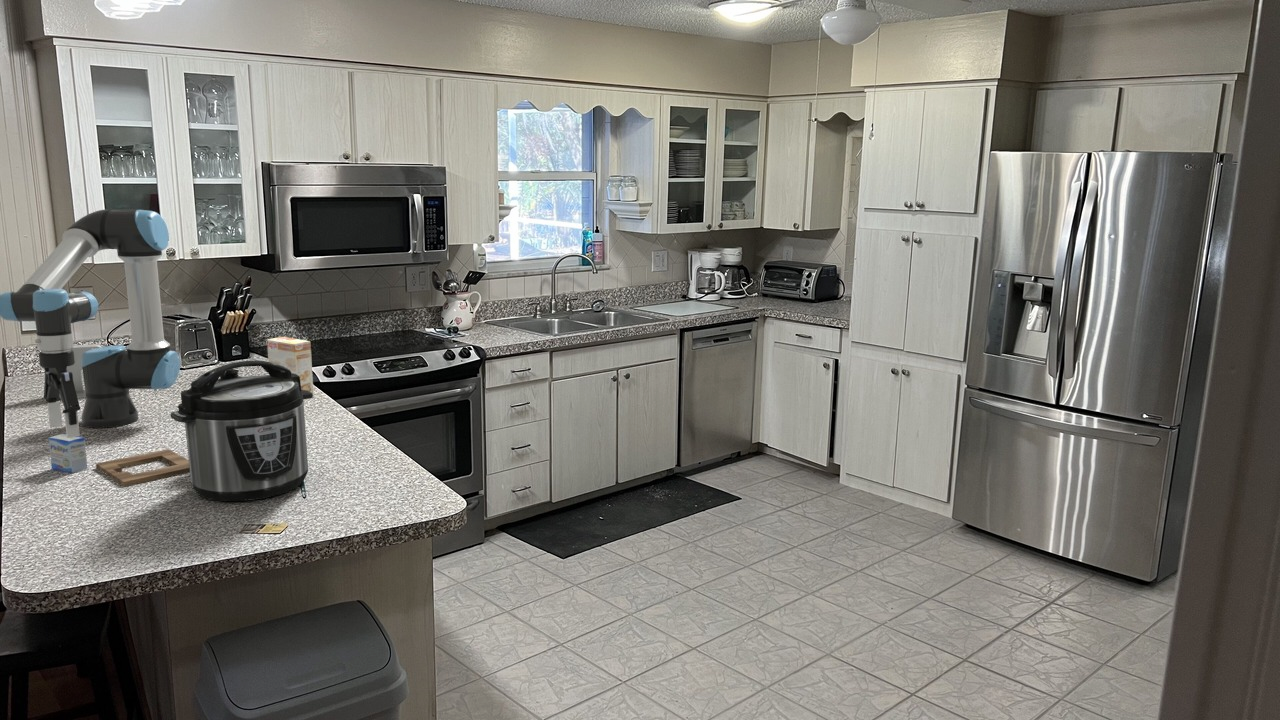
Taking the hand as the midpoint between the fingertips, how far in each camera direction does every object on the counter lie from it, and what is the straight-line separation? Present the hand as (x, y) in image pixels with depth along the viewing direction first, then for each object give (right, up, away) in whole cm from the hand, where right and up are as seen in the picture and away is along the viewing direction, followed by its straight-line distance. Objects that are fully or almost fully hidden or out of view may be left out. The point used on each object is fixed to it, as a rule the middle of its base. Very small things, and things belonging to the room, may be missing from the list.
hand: (64, 431), depth 234 cm
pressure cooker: (+52, -13, -8) cm, 54 cm away
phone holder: (-44, +6, +77) cm, 89 cm away
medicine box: (0, -10, +2) cm, 10 cm away
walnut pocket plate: (+20, -10, +3) cm, 22 cm away
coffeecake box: (+27, +6, +83) cm, 87 cm away
